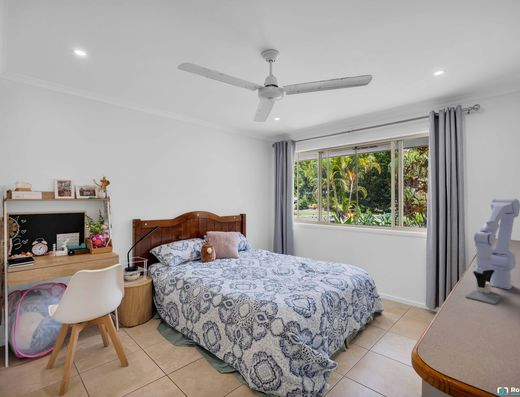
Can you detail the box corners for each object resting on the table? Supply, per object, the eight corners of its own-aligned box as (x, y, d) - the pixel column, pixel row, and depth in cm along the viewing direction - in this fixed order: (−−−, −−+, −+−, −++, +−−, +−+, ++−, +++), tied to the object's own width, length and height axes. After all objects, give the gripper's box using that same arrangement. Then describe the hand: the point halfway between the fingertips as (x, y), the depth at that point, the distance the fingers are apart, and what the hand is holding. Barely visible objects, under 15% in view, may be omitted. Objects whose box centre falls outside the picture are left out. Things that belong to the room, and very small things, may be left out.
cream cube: (479, 289, 132) (479, 279, 131) (491, 291, 128) (491, 282, 128) (476, 291, 129) (476, 281, 129) (488, 293, 125) (488, 284, 125)
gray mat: (474, 291, 127) (474, 290, 127) (502, 298, 119) (502, 296, 119) (465, 297, 120) (465, 296, 120) (494, 304, 112) (494, 303, 112)
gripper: (478, 253, 136) (477, 280, 136) (469, 257, 127) (468, 286, 127) (496, 256, 130) (496, 284, 130) (488, 260, 121) (487, 290, 121)
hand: (483, 285), depth 128 cm, fingers open, 7 cm apart
